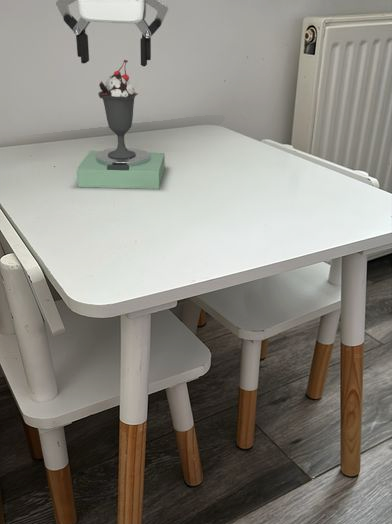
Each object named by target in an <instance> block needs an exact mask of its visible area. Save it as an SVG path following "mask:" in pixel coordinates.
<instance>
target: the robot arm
mask: <svg viewBox="0 0 392 524" xmlns="http://www.w3.org/2000/svg"><path fill="white" fill-rule="evenodd" d="M76 2H77V4H78V5H77V6H78V13H79V16H80V18H79V19H78V20H77V19H76V18H75V17H74V16H73V14H72V12H71V11H70V5H72V4H74V3H76ZM55 5H56V7H57V9H58V11H59V13H60V15H61V16H62V19H63V22H64V23H65V24H66V25H67V26H68V27H69V29H71V31H72V32H73V34H74V35H75V40H76V50H77V51H76V54H77V57H78V58H80V63H81V64H87V63H88V62H89V61H90V50H89V36H88V34H87V32H86V29H87V28H88V26H89V25H90V24H91V23H105V24H106V23H107V24H108V23H109V24H130V25H131V24H132V25H133V24H135V25H136V28H138V30H139V31H140V32H141V38H140V40H139V42H140V43H139V44H140V47H139V48H140V66H141V67H146V66H148V61H151V59H152V36H153V35H154V34H155V33H156V32H157V30H159V28H160V27H161V26H162V24H163V23H164V20H165V18H166V16H167V14H168V11H169V7H168V5H167V4H165V2H162V1H161V0H56V2H55ZM147 5H148V6H150V7H152V9H154V10H156V15H155V18H154V20H153V21H152V22H151V23H150V24H148V22H147V21H146V20H145V19H146V17H147Z"/></svg>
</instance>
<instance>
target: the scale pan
mask: <svg viewBox="0 0 392 524" xmlns="http://www.w3.org/2000/svg"><path fill="white" fill-rule="evenodd" d="M126 148H127V149H128V150H129V151H133V152H135V154H136V155H135V156H134V157H131V158H124V159H118V158H112V157H109V156H108V153H109V152H112V151H115V150H116V149H117V147H115V148H109V149H108V148H107V149H103V150H99V151H100V152H98V153H97V154H96V161H97V162H98V163H100V164H102V165H106V166H108V164H110V165H129V167H132V166H139V165H143V164H145V163H147V162H149V161H150V154H149V153H148V152H149V151H146V150H143V149H140V148H135V147H134V148H133V147H126Z"/></svg>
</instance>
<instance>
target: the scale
mask: <svg viewBox="0 0 392 524" xmlns="http://www.w3.org/2000/svg"><path fill="white" fill-rule="evenodd" d="M100 151H101V150H89V151H88V153H87V154H86V156H85V157H84V159H82V161H81V162H80V164H79V165H78V167H77V168H76V178H77V187H78V188H100V189H102V188H104V189H134V190H135V189H136V190H137V189H141V190H142V189H143V190H160V188H161V184H162V180H163V177H164V174H165V170H166V158H165V157H166V155H165V154H166V153H165V152H153V151H151V152H150V151H147V152H148V153H149V154H150V161H149V162H147V163H145V164H143V165H139V166H132V167H129V165H110V164H108V166H106V165H102V164H100V163H98V162H97V161H96V154H97V153H98V152H100Z"/></svg>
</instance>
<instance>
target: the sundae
mask: <svg viewBox="0 0 392 524" xmlns="http://www.w3.org/2000/svg"><path fill="white" fill-rule="evenodd" d="M128 62H129V61H128V60H127V59H123V62H122V65H121V66H120V68H118V70H115V71H114V72H113V74H112V75H111V76H109V77H108V78H107V79H106V81H105V83H104V82H103V81H100V83H98V84H99V85H98V86H99V88H100V91H98V97H99V98H100V99H102V101H103V102H102V103H103V106H104V111H105V115H106V121H107V125H108V128H109V129H110V130H111V131H112V133H114V134H115V135H116V136H117V147H116V148H117V149H116V150H115V151H112V152H109V153H108V156H109V157H112V158H118V159H124V158H131V157H134V156H135V155H136V154H135V152H133V151H129V150H128V149H127V148H128V147H126V144H125V135H126V134H127V133H128V132H129V131H130V130H131V128H132V125H133V120H134V119H133V118H134V106H135V98H136V96H138V94H139V93H137V92H136V91H135V88H134V86H133V84H132V83H131V82H130V81H129V80H130V76H129V74H127V70H126V69H124V74H122V73H121V70H122V68H123V67H126V64H127V63H128ZM121 74H122V75H121Z"/></svg>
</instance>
